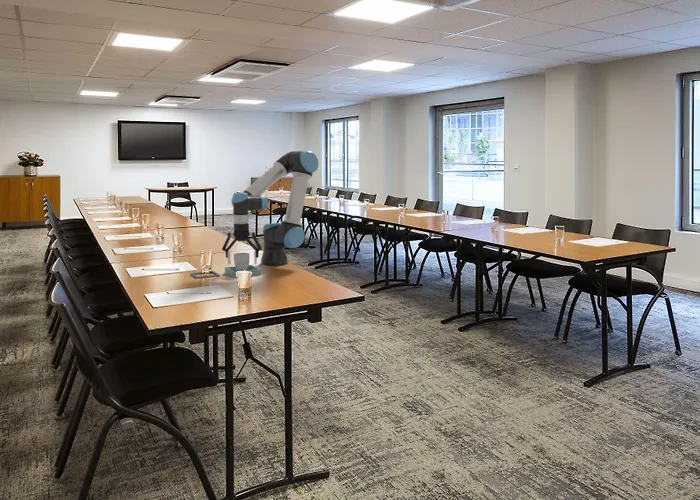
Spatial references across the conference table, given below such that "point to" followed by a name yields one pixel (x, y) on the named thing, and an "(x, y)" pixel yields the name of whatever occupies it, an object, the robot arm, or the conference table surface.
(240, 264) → the cup
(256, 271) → the bin
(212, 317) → the conference table surface
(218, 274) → the grey flat square frame
